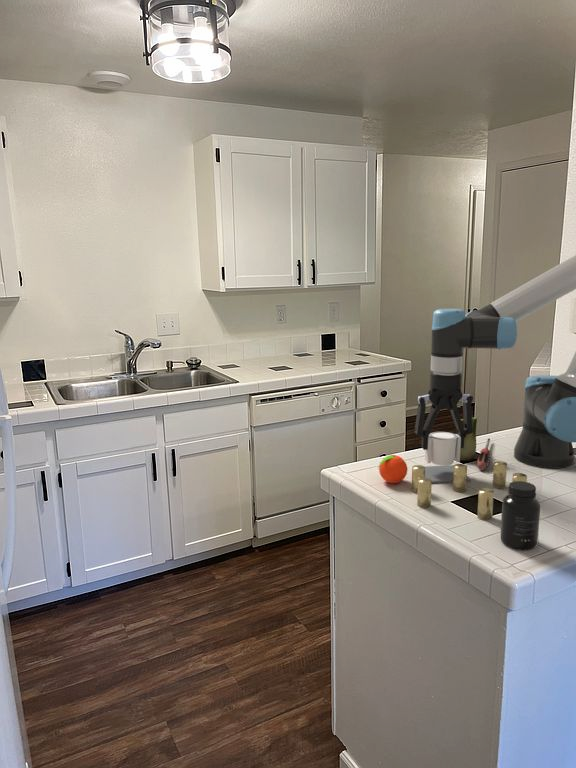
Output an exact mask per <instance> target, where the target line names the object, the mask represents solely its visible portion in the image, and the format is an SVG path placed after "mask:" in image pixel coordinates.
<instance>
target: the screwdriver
mask: <svg viewBox="0 0 576 768" xmlns="http://www.w3.org/2000/svg"><path fill="white" fill-rule="evenodd" d="M490 441H491V438H487V439H486V443H485V448H482V449H480V451H479V455H478V457H477V460H476V466H477V468H478V469H479V470H481V471H483V470H486V468H487V467H488V465H489V461H490V459H489V458H490V454H491V451H490V450H489V445H490Z"/></svg>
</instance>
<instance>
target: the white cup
mask: <svg viewBox="0 0 576 768" xmlns="http://www.w3.org/2000/svg"><path fill="white" fill-rule="evenodd" d="M455 434H456V433H453V432H447V431H434V432H430V435H429V436H430V437H431V438H432V444H431V463H432V464H434V465H436V466H446V465H454V461H455V460H454V455H455V448H456V441H457V436H456V435H455Z"/></svg>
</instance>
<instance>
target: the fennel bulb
mask: <svg viewBox="0 0 576 768" xmlns="http://www.w3.org/2000/svg"><path fill="white" fill-rule="evenodd" d="M461 422H462V425H463V428H464V418H461ZM477 422H478V418H477V417H472V431H473V432H472V433H471V434H467V436H466V437H465V438H464V447H463V448H460V462H461V461H463V462H467V461H470V462H471V461H473V460H474V459H475V457H476V453H477Z"/></svg>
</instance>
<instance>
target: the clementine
mask: <svg viewBox="0 0 576 768" xmlns="http://www.w3.org/2000/svg"><path fill="white" fill-rule="evenodd" d="M407 465H408V464H407V463H406V461H405V460H404V459H403V458H402V457H401V456H399V455H396V454H390V455H387V456H385V457H383V459H382V460H381V461H380V463H379V466H378V468H377V469H378V471H379V475H380V477H381V478H382V479H383V480H384V481H385V482H386V483H390V484H397V483H400V482H402V481H404V479H405V478H406V476H407V474H408V466H407Z"/></svg>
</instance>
